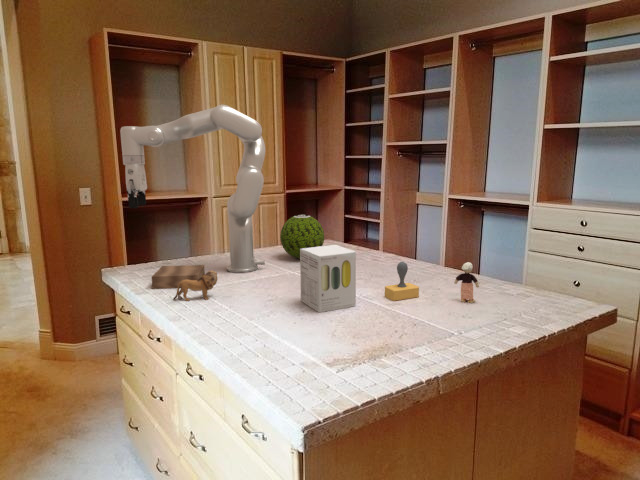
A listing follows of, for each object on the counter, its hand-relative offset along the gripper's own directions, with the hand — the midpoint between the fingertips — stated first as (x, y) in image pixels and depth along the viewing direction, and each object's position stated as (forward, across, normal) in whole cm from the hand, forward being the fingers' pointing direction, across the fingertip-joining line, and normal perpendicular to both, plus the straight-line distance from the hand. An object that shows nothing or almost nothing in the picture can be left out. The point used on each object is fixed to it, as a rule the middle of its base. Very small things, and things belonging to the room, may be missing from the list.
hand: (137, 206), depth 176 cm
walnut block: (+28, -8, -15) cm, 33 cm away
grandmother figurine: (+28, -40, -112) cm, 123 cm away
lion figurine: (+28, -28, -26) cm, 47 cm away
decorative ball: (+28, +28, -62) cm, 74 cm away
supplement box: (+28, -38, -68) cm, 83 cm away
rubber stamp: (+28, -33, -93) cm, 103 cm away
